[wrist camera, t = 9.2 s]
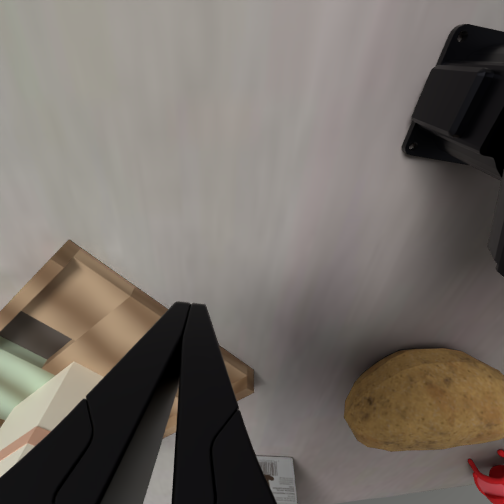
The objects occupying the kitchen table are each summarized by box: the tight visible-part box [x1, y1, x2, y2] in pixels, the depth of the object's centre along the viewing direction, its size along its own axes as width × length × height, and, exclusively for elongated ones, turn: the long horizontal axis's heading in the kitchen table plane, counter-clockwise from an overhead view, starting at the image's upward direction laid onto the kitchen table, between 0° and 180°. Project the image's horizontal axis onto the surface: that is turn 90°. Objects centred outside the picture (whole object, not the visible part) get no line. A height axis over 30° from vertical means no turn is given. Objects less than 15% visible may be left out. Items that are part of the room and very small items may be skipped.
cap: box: [468, 450, 504, 504], centre depth 41 cm, size 8×6×6 cm
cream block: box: [0, 362, 103, 477], centre depth 28 cm, size 12×6×9 cm, turn 131°
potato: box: [344, 348, 504, 452], centre depth 27 cm, size 10×14×8 cm
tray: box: [0, 240, 254, 438], centre depth 30 cm, size 27×21×2 cm
